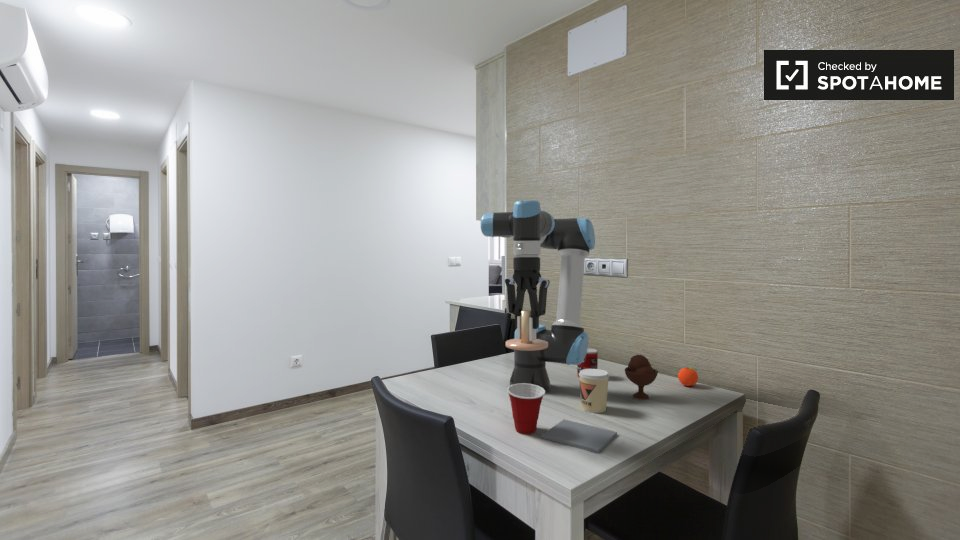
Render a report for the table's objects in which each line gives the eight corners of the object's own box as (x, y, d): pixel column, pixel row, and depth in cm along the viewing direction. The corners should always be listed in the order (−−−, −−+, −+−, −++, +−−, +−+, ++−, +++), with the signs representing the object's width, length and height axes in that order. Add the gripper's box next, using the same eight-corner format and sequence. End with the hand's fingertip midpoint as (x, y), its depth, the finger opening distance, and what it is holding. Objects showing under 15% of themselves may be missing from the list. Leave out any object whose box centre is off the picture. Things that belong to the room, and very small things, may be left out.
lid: (497, 347, 125) (497, 311, 124) (519, 340, 135) (519, 306, 134) (535, 352, 118) (535, 315, 117) (555, 344, 128) (555, 310, 127)
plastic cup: (518, 441, 120) (518, 396, 119) (500, 426, 130) (500, 385, 129) (552, 434, 124) (552, 391, 124) (533, 420, 134) (533, 381, 134)
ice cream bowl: (660, 402, 150) (661, 358, 149) (626, 400, 152) (626, 357, 152) (654, 393, 160) (655, 351, 160) (622, 391, 163) (622, 350, 162)
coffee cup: (573, 406, 147) (573, 370, 146) (596, 402, 151) (596, 367, 150) (590, 415, 138) (591, 377, 138) (614, 411, 142) (615, 374, 141)
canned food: (576, 374, 186) (576, 347, 185) (596, 374, 185) (596, 348, 184) (577, 379, 178) (578, 351, 178) (598, 380, 177) (598, 352, 177)
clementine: (690, 382, 174) (690, 364, 174) (704, 387, 167) (704, 368, 167) (673, 384, 171) (673, 365, 171) (687, 389, 165) (687, 370, 164)
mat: (541, 437, 122) (541, 434, 122) (563, 421, 133) (563, 419, 133) (598, 453, 112) (598, 450, 112) (616, 434, 124) (616, 431, 124)
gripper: (495, 256, 127) (495, 338, 128) (546, 256, 117) (546, 345, 118) (509, 255, 133) (509, 334, 134) (559, 256, 123) (558, 340, 124)
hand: (526, 339), depth 126 cm, fingers closed on lid, 3 cm apart
